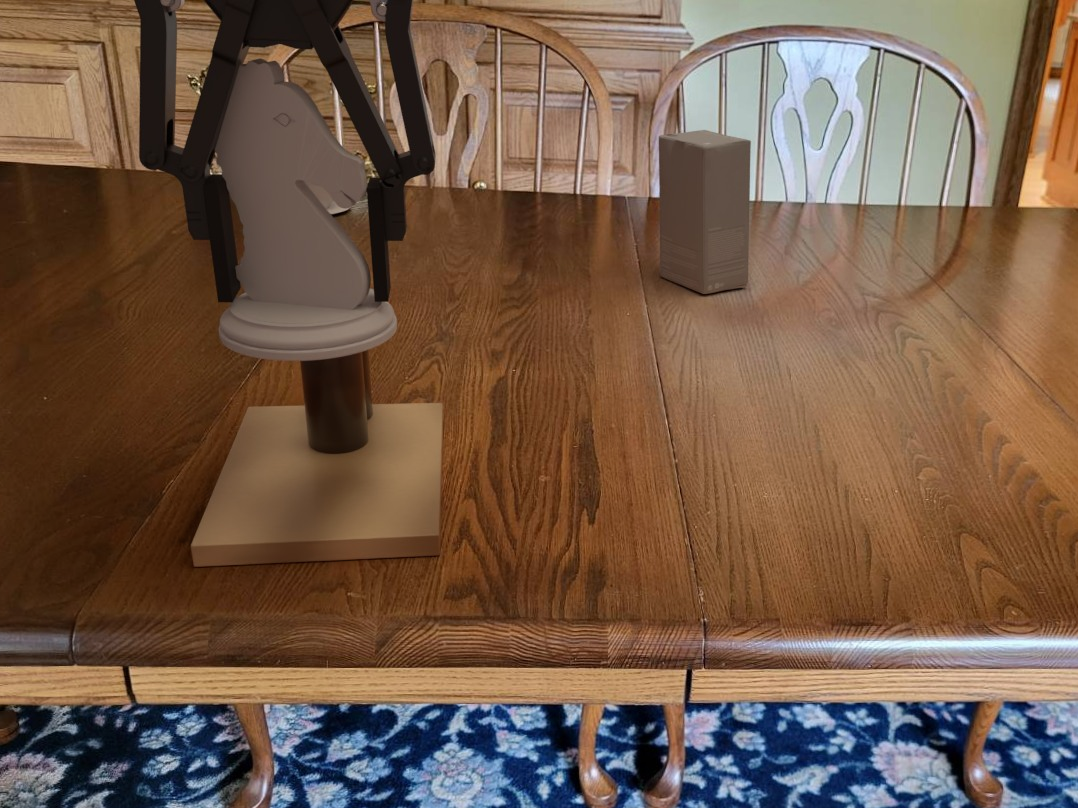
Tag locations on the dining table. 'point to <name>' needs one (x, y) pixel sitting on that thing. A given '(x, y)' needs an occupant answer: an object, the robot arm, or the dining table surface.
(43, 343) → the dining table surface
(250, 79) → the chess piece
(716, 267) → the cosmetic box
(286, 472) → the wooden stand with posts
